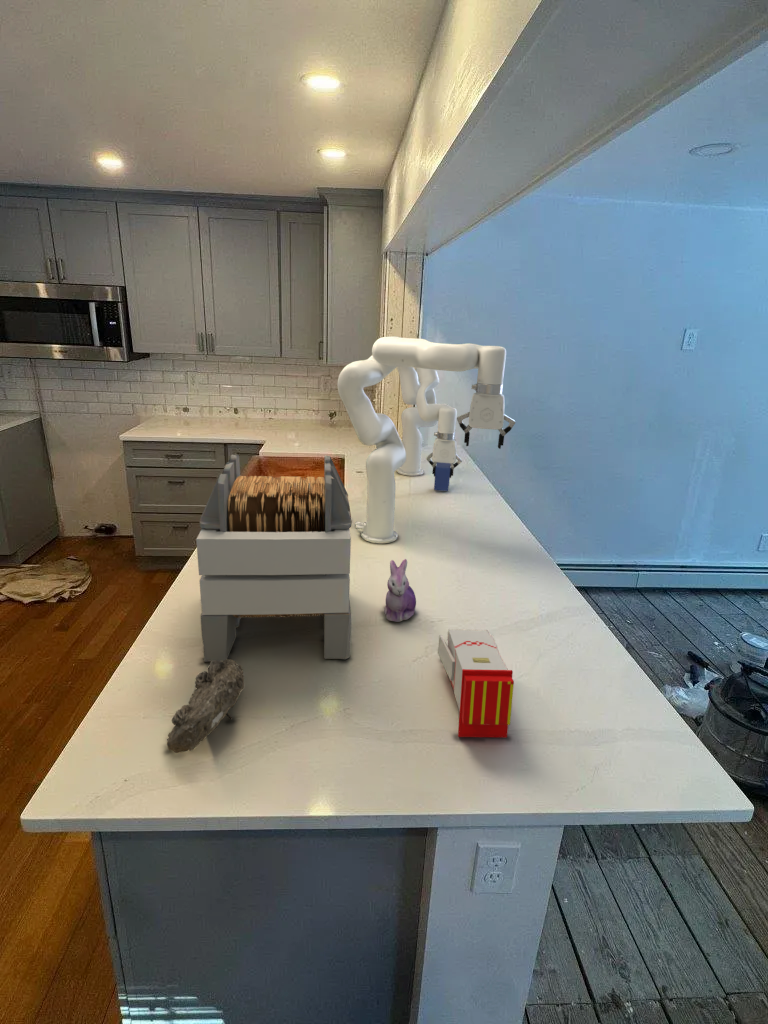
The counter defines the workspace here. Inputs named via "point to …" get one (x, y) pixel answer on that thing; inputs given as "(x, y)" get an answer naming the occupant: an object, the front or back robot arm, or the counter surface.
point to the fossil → (206, 705)
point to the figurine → (399, 594)
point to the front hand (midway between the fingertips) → (483, 446)
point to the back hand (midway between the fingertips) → (442, 476)
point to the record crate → (275, 555)
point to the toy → (478, 682)
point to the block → (442, 476)
